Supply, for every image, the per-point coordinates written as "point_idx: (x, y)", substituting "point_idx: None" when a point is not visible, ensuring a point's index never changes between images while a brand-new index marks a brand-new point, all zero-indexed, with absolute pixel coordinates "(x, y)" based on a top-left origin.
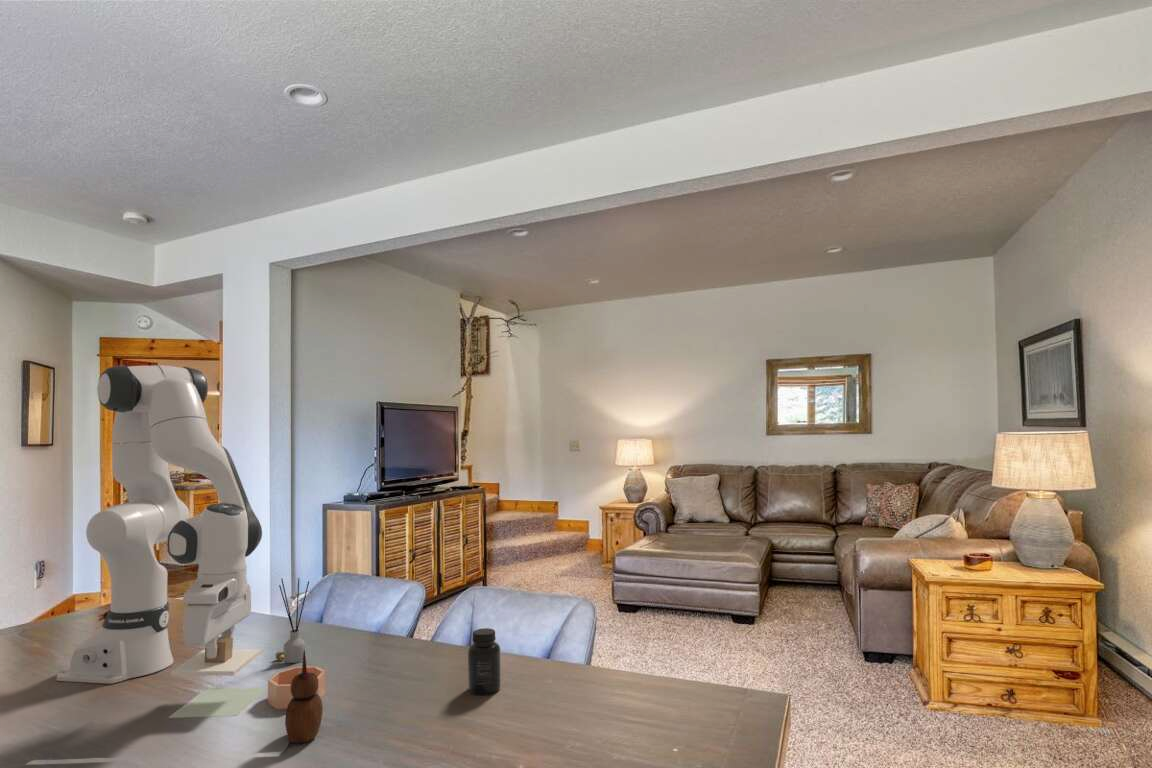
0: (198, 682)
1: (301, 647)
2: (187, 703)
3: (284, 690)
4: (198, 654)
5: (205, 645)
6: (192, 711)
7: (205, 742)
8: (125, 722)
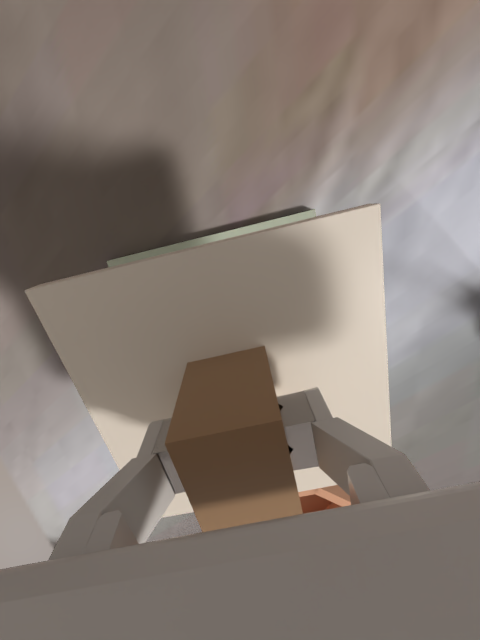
0: (405, 100)
1: None
2: (205, 239)
3: None
4: (285, 241)
5: (101, 493)
6: None
7: (58, 433)
8: (54, 115)
